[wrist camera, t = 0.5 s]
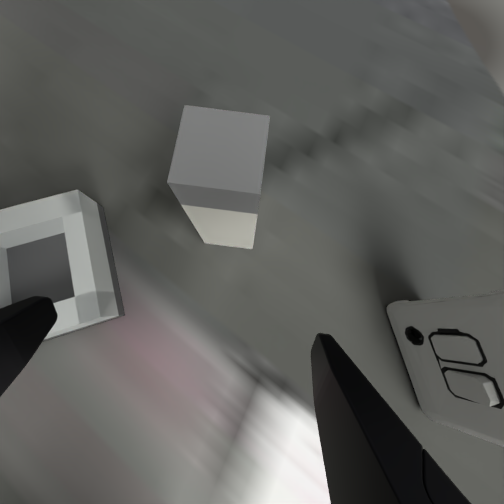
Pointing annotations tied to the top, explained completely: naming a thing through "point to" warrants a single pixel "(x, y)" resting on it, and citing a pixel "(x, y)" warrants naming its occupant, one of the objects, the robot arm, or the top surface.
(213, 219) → the grey tall block
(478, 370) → the electrical switch
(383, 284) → the top surface
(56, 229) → the white rectangular frame
